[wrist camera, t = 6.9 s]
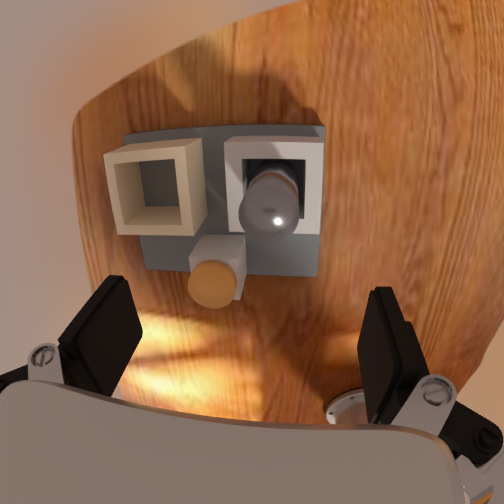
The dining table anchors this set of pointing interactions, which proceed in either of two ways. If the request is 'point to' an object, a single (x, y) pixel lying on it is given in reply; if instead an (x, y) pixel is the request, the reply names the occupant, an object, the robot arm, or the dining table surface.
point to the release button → (212, 284)
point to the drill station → (215, 196)
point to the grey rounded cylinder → (271, 202)
